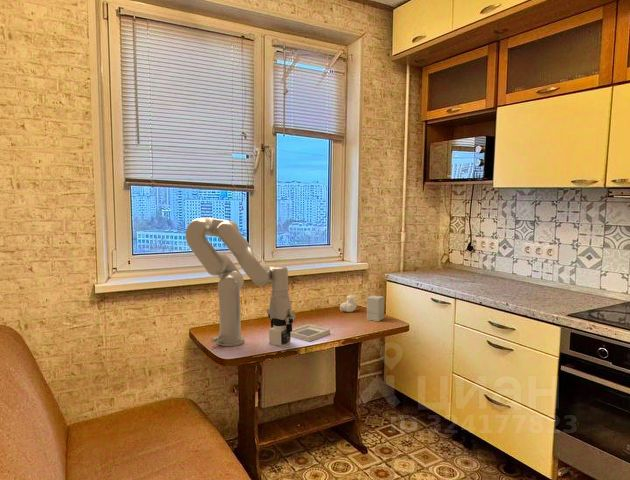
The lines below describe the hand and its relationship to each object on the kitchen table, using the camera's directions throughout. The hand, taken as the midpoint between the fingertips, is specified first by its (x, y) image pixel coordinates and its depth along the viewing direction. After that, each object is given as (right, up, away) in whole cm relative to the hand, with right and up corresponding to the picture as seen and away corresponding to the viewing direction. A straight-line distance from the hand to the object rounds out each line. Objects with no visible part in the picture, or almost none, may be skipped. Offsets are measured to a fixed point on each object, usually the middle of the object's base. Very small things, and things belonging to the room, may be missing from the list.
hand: (281, 330), depth 198 cm
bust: (+36, -1, +58) cm, 68 cm away
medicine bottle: (-1, -6, 0) cm, 6 cm away
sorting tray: (+12, -5, +13) cm, 19 cm away
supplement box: (+49, -3, +41) cm, 64 cm away
